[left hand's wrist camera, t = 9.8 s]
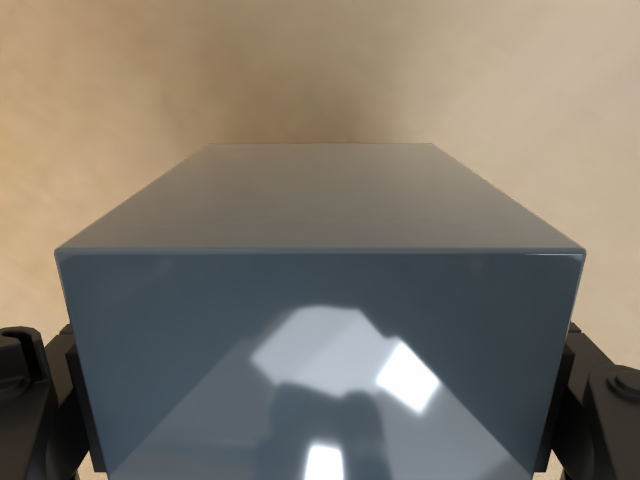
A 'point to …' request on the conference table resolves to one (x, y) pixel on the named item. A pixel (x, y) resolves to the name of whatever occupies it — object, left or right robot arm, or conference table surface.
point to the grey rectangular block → (320, 318)
